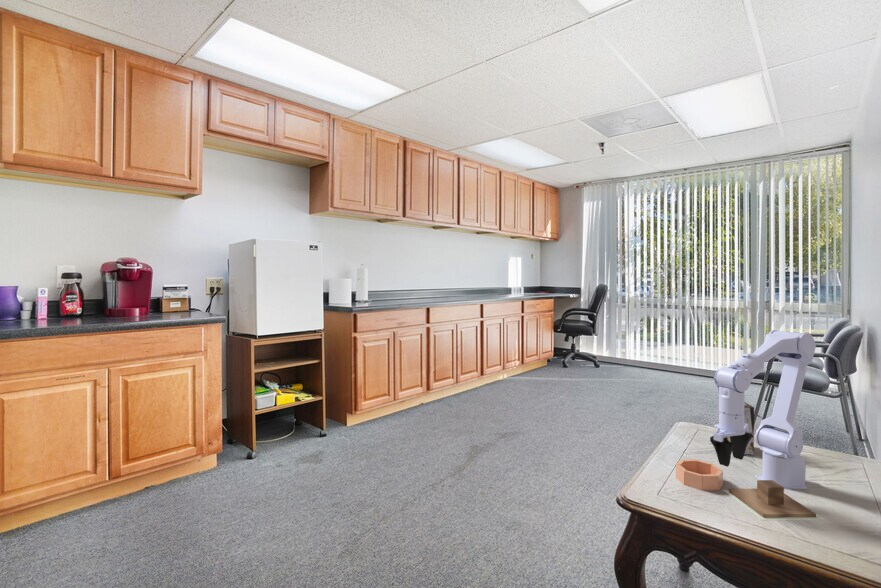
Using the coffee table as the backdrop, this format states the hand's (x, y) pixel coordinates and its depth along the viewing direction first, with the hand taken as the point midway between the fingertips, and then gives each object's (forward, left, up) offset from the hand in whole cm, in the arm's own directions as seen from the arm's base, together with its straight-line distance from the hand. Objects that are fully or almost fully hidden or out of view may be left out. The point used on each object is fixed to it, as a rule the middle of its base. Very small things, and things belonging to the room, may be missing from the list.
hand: (731, 461), depth 119 cm
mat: (-7, +5, -10) cm, 13 cm away
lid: (-7, +5, -9) cm, 12 cm away
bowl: (+4, -8, -10) cm, 13 cm away
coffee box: (-23, -32, -10) cm, 41 cm away
